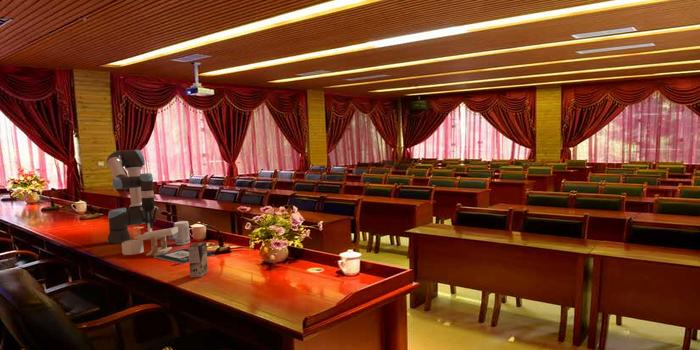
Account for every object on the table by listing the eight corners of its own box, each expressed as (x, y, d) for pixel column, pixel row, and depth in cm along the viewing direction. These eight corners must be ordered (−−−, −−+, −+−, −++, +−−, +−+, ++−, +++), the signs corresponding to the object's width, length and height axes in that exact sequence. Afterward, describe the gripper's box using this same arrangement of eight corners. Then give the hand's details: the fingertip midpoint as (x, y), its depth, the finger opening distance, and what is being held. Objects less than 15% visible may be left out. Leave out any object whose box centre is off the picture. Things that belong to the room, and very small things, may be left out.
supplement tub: (187, 241, 321) (185, 220, 319) (192, 243, 313) (190, 222, 312) (173, 243, 314) (171, 222, 313) (177, 246, 307) (176, 224, 306)
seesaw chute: (184, 233, 304) (182, 223, 303) (172, 239, 286) (170, 229, 285) (151, 239, 305) (149, 229, 304) (137, 245, 287) (135, 235, 286)
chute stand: (172, 248, 300) (171, 232, 300) (160, 255, 283) (159, 238, 283) (158, 248, 301) (157, 232, 300) (146, 255, 284) (145, 238, 283)
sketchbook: (183, 265, 261) (183, 261, 261) (152, 258, 278) (152, 255, 278) (214, 256, 279) (214, 252, 279) (183, 250, 296) (183, 247, 296)
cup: (128, 250, 298) (128, 239, 298) (146, 250, 298) (145, 239, 298) (119, 255, 287) (118, 244, 287) (137, 254, 287) (136, 243, 286)
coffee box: (202, 277, 234) (200, 246, 233) (189, 277, 234) (187, 246, 233) (208, 271, 243) (206, 241, 242) (196, 272, 244) (194, 242, 242)
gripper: (134, 198, 296) (137, 234, 298) (154, 197, 296) (157, 233, 298) (140, 196, 304) (143, 232, 306) (160, 196, 303) (162, 231, 305)
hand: (150, 232), depth 302 cm, fingers closed
